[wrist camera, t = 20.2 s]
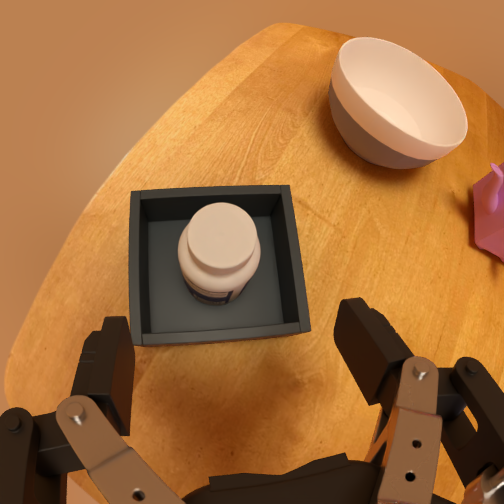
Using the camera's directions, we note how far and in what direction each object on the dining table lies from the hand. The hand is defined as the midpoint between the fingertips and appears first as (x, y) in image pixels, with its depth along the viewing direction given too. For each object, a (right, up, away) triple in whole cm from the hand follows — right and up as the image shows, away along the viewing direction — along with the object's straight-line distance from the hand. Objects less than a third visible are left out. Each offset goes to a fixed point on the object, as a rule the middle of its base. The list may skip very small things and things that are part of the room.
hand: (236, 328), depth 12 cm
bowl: (+15, +17, +25) cm, 34 cm away
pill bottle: (-3, +1, +16) cm, 16 cm away
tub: (-3, +1, +16) cm, 17 cm away
